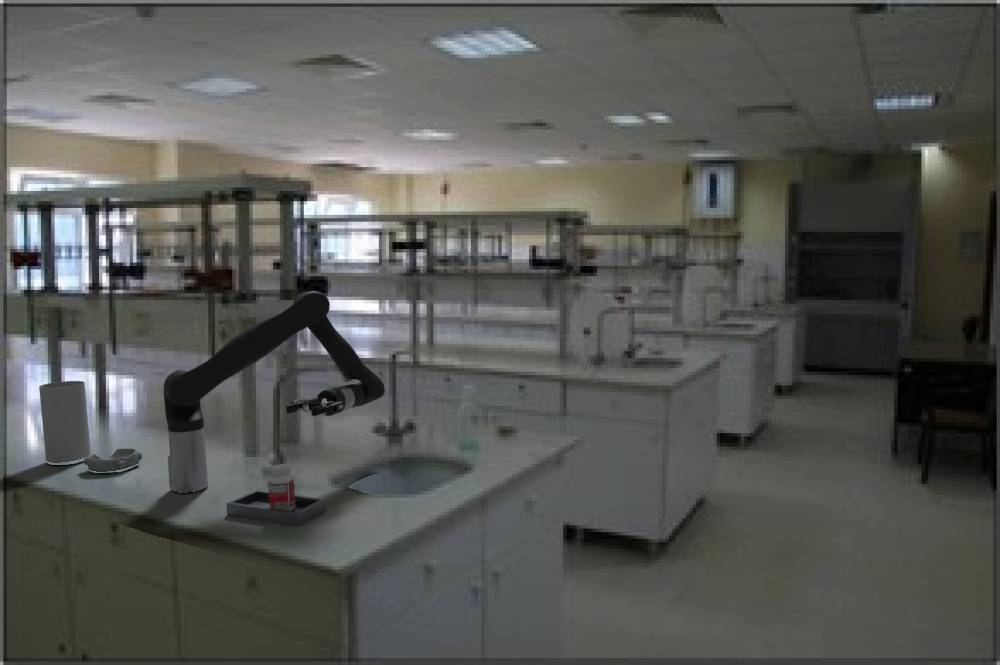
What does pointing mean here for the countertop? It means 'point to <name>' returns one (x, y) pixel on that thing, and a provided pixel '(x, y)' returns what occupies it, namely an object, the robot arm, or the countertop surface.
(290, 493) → the pill bottle
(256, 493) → the rectangular tray
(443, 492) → the countertop surface
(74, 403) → the cylinder vase
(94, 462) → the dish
